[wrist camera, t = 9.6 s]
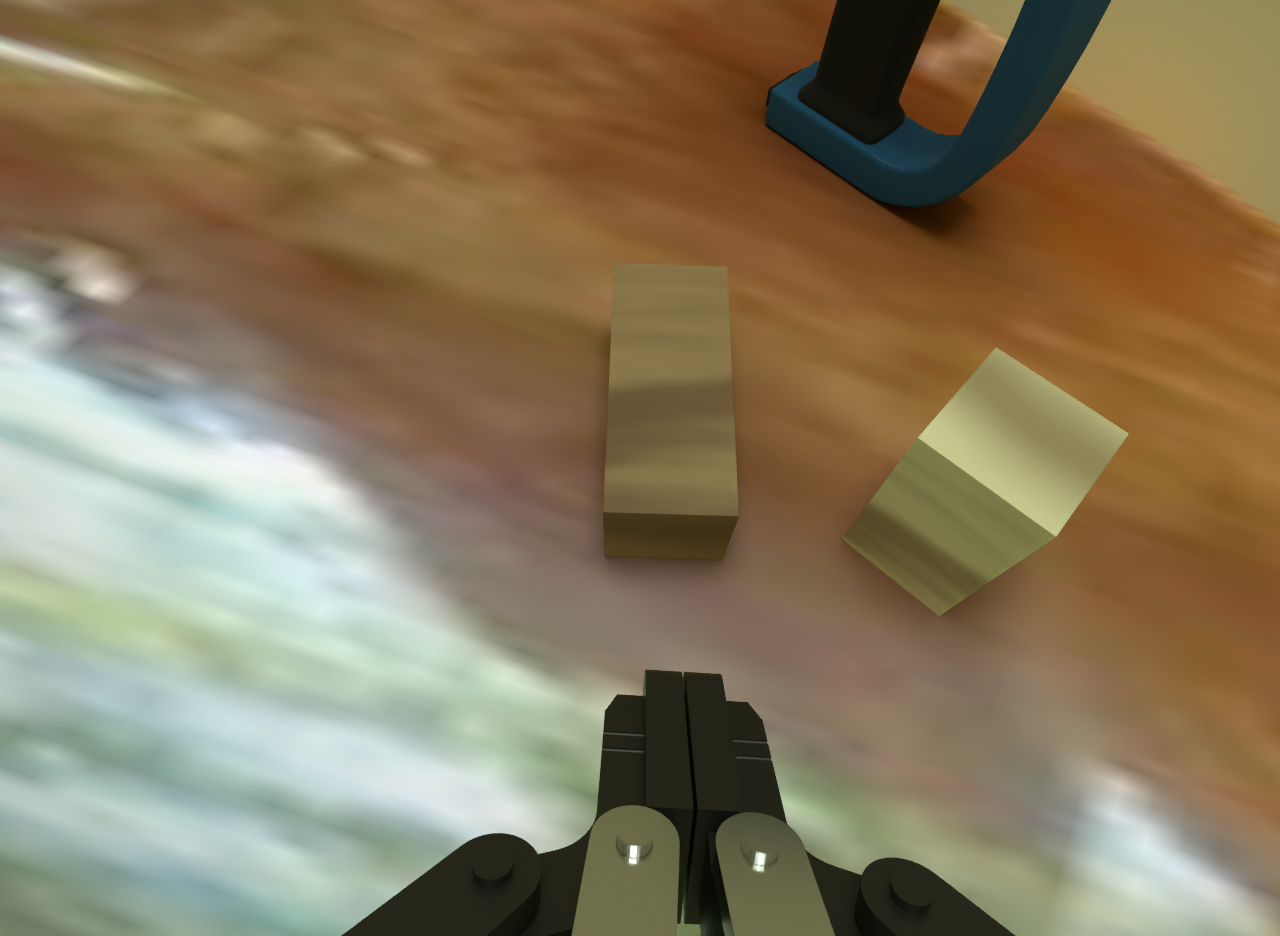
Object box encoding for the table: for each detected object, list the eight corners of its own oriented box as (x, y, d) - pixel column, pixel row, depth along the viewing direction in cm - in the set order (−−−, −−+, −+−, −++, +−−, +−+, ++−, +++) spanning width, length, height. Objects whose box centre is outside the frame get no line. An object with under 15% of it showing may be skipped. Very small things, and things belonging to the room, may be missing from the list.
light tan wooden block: (738, 516, 27) (726, 266, 32) (603, 512, 27) (614, 263, 32) (721, 561, 31) (713, 336, 37) (605, 558, 31) (614, 333, 37)
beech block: (939, 616, 30) (1055, 536, 22) (841, 538, 32) (917, 437, 24) (1000, 535, 32) (1128, 433, 24) (904, 464, 33) (996, 347, 25)
